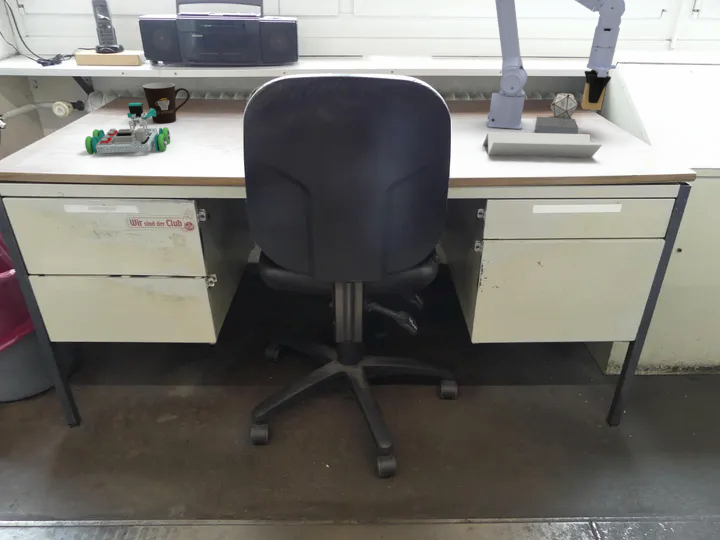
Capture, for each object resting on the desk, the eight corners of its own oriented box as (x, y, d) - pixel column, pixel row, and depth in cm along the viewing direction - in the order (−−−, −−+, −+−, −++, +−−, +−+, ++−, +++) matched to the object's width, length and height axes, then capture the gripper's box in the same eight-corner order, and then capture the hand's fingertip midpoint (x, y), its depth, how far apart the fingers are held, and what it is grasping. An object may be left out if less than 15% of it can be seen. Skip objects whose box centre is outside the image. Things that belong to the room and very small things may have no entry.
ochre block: (582, 109, 144) (587, 85, 141) (581, 105, 147) (585, 82, 144) (600, 110, 143) (605, 86, 140) (598, 106, 146) (603, 83, 144)
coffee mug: (145, 124, 152) (138, 88, 147) (154, 117, 159) (148, 82, 154) (186, 124, 152) (180, 88, 147) (193, 117, 160) (188, 82, 155)
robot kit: (179, 130, 148) (173, 95, 144) (164, 157, 127) (157, 117, 122) (109, 132, 146) (101, 97, 141) (82, 160, 124) (71, 120, 120)
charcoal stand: (535, 140, 142) (538, 125, 140) (534, 130, 150) (536, 116, 148) (575, 143, 140) (578, 128, 138) (571, 133, 148) (574, 119, 146)
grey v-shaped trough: (483, 166, 136) (482, 144, 138) (581, 168, 136) (580, 146, 137) (494, 142, 125) (493, 119, 126) (601, 145, 124) (599, 121, 126)
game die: (561, 129, 166) (581, 102, 165) (569, 126, 158) (591, 97, 156) (538, 113, 166) (558, 85, 164) (545, 109, 158) (566, 80, 156)
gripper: (625, 51, 131) (611, 107, 137) (615, 44, 143) (603, 96, 149) (594, 49, 132) (582, 105, 139) (587, 43, 144) (576, 94, 151)
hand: (591, 100), depth 144 cm, fingers closed on ochre block, 4 cm apart
